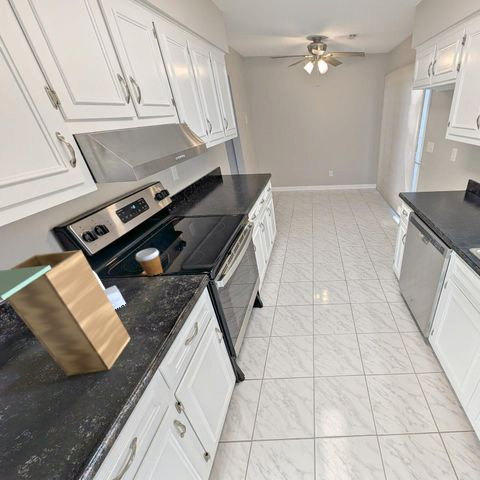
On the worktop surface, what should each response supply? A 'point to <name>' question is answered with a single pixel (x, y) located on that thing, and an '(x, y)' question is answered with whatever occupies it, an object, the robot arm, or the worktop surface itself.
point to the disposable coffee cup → (150, 261)
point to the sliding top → (18, 279)
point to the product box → (114, 297)
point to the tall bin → (70, 313)
